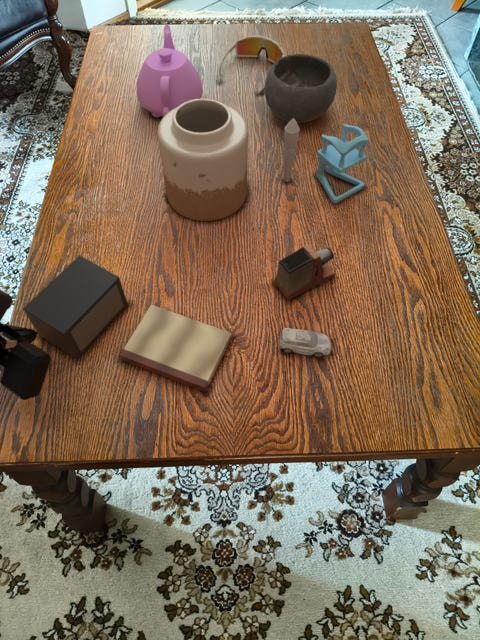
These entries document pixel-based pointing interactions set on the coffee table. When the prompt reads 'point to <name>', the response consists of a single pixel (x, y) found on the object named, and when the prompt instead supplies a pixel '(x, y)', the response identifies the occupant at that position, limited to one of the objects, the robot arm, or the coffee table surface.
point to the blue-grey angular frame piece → (341, 160)
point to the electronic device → (303, 271)
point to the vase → (204, 159)
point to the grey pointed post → (290, 147)
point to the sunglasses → (256, 49)
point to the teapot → (167, 79)
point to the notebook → (176, 347)
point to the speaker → (77, 306)
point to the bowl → (300, 87)
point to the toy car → (304, 342)
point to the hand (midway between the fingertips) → (35, 334)
